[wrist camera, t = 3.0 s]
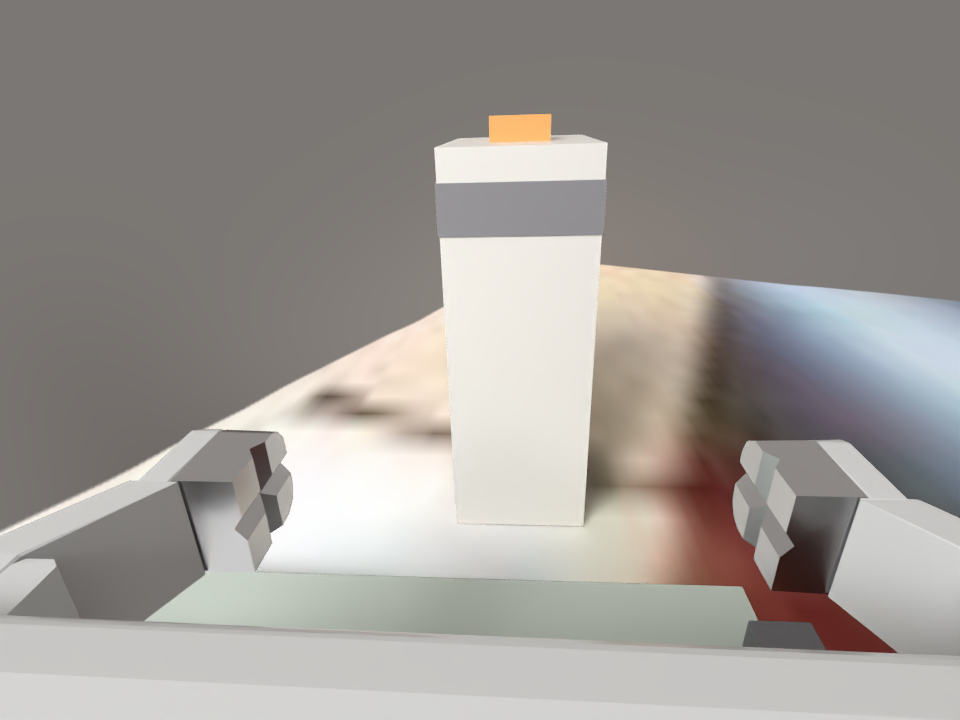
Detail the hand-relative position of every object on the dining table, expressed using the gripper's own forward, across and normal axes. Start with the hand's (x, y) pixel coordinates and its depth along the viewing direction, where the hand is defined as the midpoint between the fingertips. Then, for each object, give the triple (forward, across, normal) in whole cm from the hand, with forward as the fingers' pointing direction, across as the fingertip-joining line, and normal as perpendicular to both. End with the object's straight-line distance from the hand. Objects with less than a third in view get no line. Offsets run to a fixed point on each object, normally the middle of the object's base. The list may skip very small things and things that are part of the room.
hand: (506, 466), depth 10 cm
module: (+12, 0, +9) cm, 15 cm away
